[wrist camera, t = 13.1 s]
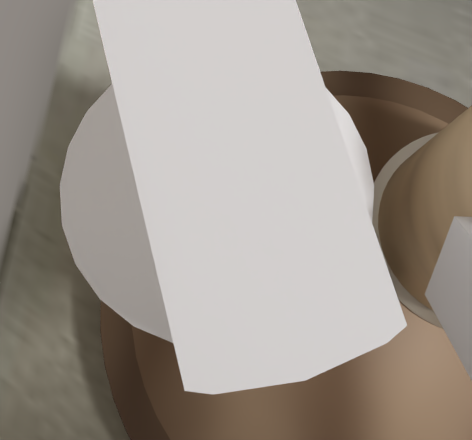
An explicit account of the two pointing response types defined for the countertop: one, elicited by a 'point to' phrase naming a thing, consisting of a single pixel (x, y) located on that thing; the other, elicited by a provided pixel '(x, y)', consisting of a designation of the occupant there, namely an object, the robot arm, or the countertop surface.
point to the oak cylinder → (426, 204)
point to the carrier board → (342, 376)
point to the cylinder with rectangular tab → (227, 195)
